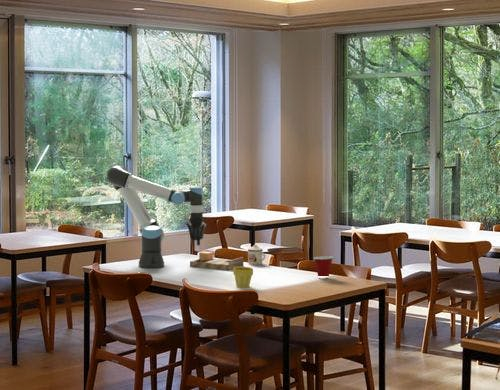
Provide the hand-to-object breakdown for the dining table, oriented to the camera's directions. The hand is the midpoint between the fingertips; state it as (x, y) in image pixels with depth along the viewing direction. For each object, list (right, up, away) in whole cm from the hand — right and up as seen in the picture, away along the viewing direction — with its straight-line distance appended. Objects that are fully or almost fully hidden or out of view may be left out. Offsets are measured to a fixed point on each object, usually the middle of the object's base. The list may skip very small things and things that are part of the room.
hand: (196, 250), depth 558 cm
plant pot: (+29, -15, -76) cm, 83 cm away
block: (+6, -5, -3) cm, 8 cm away
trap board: (+13, -9, -11) cm, 19 cm away
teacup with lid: (+37, -8, -1) cm, 37 cm away
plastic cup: (+73, -13, -47) cm, 88 cm away
